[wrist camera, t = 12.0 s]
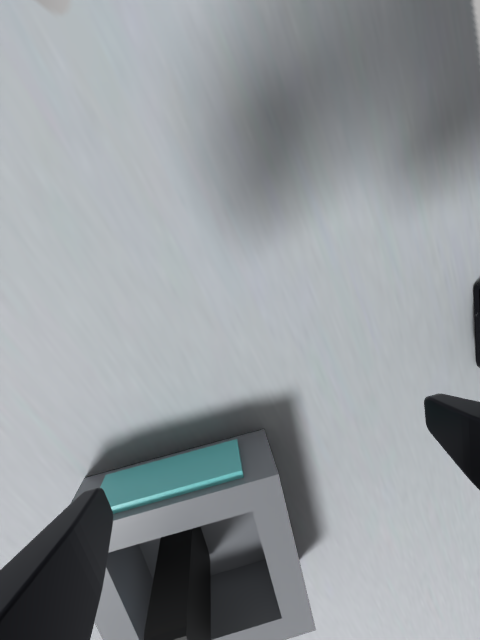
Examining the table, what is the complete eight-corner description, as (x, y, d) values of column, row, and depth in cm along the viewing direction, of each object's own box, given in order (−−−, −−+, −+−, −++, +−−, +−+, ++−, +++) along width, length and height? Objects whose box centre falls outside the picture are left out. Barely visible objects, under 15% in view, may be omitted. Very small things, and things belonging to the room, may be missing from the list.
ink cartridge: (163, 512, 22) (137, 655, 14) (193, 504, 22) (185, 641, 14) (181, 565, 23) (167, 724, 15) (210, 556, 23) (211, 710, 15)
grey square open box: (262, 422, 21) (277, 467, 17) (296, 563, 25) (316, 630, 20) (81, 472, 21) (48, 531, 16) (141, 609, 24) (127, 688, 20)
